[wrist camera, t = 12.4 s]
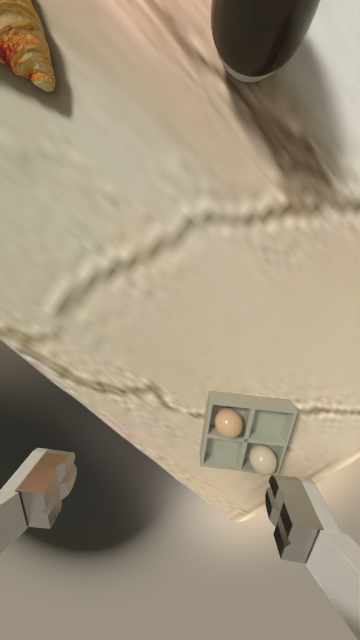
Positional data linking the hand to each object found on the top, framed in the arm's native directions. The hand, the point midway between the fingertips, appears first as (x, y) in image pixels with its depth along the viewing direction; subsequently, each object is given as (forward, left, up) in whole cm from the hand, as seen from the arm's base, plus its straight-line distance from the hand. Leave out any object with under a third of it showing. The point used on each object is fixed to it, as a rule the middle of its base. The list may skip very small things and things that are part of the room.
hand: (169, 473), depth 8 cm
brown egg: (-9, +19, -26) cm, 33 cm away
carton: (-13, +22, -27) cm, 37 cm away
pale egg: (-17, +26, -26) cm, 41 cm away
